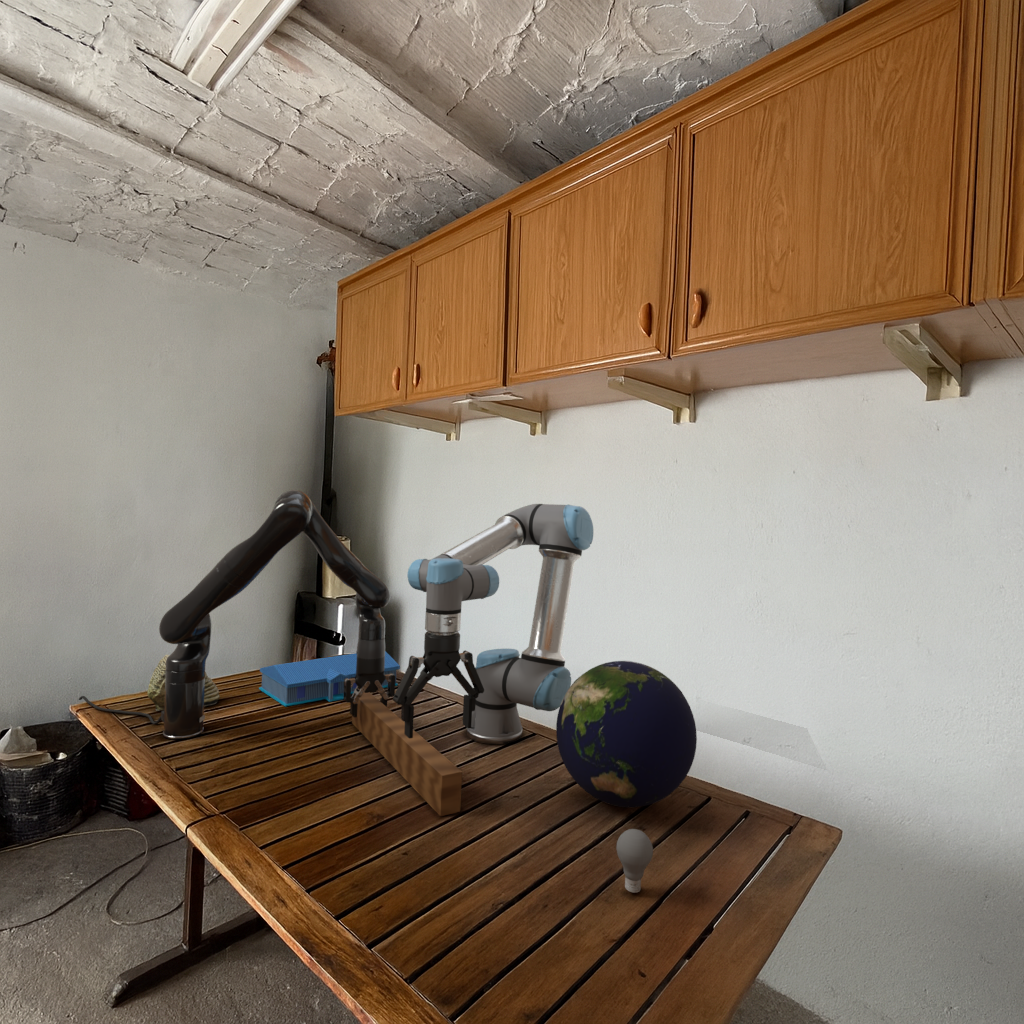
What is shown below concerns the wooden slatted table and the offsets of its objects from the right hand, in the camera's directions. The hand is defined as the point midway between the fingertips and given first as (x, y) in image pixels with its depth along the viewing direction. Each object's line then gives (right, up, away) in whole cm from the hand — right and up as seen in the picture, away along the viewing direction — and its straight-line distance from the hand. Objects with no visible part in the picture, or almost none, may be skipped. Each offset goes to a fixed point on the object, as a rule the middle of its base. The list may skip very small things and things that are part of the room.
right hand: (438, 731), depth 135 cm
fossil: (-80, -10, +50) cm, 95 cm away
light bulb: (+36, -17, -29) cm, 49 cm away
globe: (+40, -16, +3) cm, 43 cm away
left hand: (-23, -9, +38) cm, 45 cm away
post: (-12, -14, +19) cm, 26 cm away
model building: (-43, -11, +73) cm, 86 cm away
